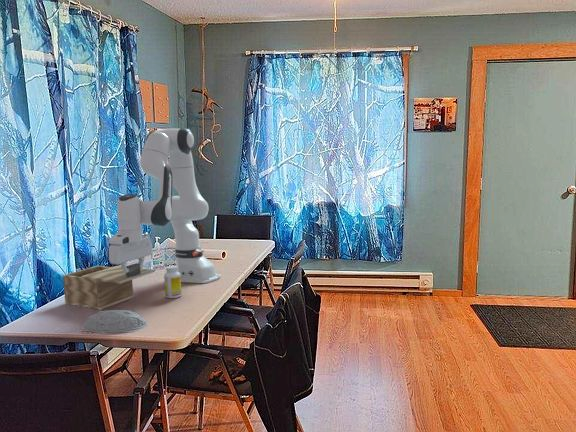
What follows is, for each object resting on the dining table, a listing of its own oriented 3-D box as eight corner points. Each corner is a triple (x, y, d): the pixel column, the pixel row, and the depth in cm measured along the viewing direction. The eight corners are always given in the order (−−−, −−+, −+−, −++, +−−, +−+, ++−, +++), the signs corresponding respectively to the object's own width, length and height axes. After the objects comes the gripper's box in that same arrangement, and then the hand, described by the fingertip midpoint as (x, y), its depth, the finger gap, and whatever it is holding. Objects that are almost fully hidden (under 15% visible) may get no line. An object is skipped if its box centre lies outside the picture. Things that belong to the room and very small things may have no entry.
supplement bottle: (184, 294, 227) (182, 265, 225) (176, 299, 221) (174, 269, 219) (170, 293, 229) (169, 264, 228) (162, 298, 223) (160, 268, 221)
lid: (154, 272, 218) (154, 260, 217) (120, 283, 202) (119, 271, 201) (117, 267, 228) (116, 256, 227) (81, 278, 212) (80, 266, 211)
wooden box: (133, 297, 225) (131, 269, 224) (100, 310, 210) (97, 280, 208) (99, 292, 235) (97, 265, 233) (65, 303, 219) (62, 275, 217)
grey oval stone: (138, 333, 182) (137, 313, 182) (71, 335, 186) (69, 315, 186) (157, 322, 197) (155, 304, 197) (94, 324, 201) (93, 306, 201)
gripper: (143, 231, 219) (145, 264, 221) (104, 240, 201) (107, 276, 203) (155, 232, 216) (157, 265, 218) (117, 241, 199) (119, 277, 200)
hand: (133, 270), depth 211 cm, fingers closed on lid, 6 cm apart
